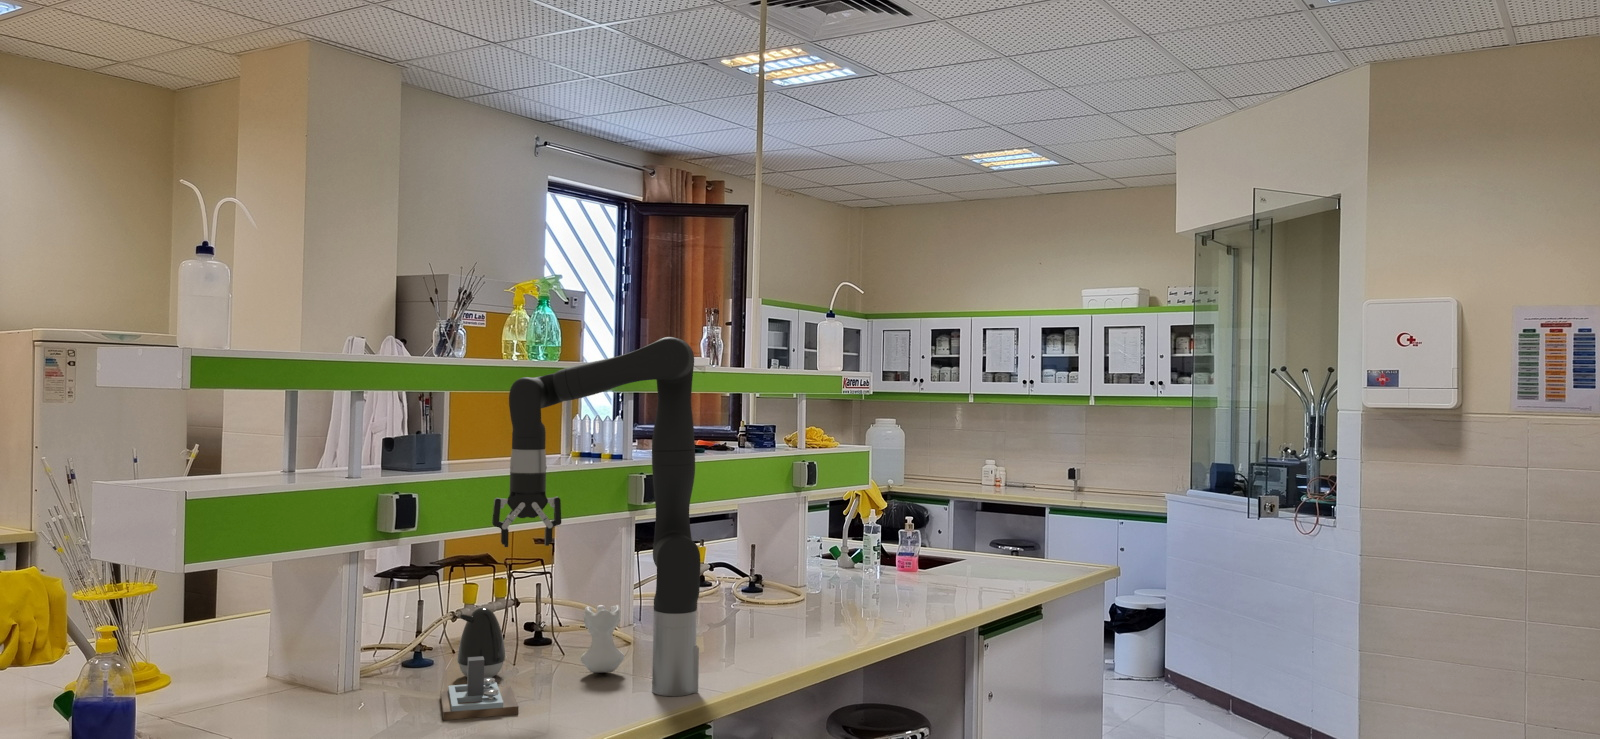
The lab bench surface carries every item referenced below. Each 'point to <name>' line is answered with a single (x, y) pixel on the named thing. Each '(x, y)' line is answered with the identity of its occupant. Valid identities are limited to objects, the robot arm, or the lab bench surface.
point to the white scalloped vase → (602, 639)
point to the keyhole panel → (472, 706)
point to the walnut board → (506, 694)
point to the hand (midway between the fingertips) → (526, 546)
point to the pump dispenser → (482, 642)
